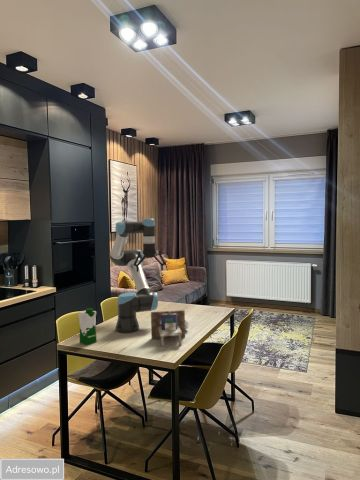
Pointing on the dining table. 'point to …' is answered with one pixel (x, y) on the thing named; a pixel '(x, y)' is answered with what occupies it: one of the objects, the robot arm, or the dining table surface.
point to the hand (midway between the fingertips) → (149, 276)
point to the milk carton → (87, 326)
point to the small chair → (167, 326)
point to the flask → (168, 319)
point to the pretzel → (186, 324)
